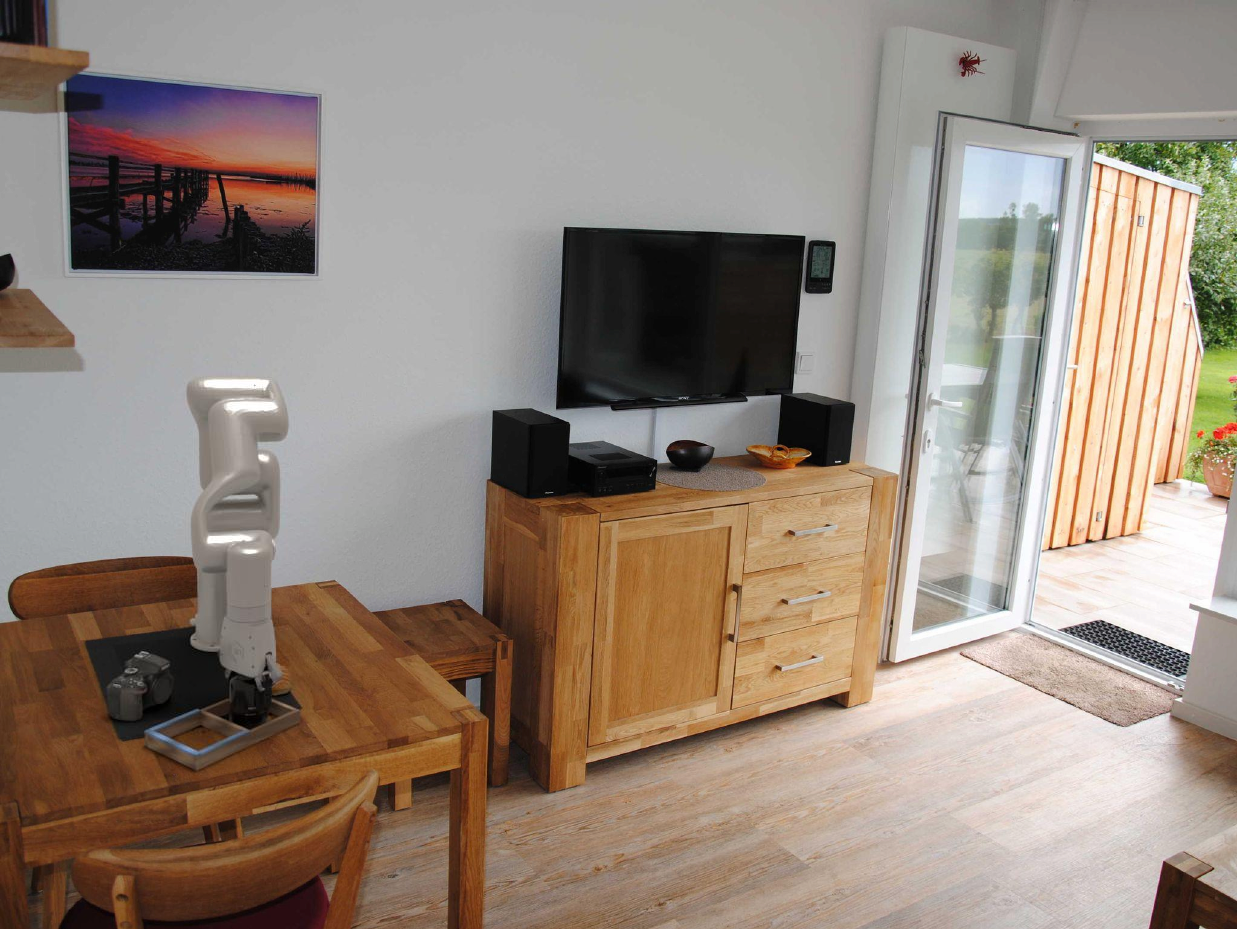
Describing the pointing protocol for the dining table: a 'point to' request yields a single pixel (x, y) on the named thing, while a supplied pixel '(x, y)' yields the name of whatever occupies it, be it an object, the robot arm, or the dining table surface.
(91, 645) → the dining table surface
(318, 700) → the dining table surface
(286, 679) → the pastry
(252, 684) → the supplement bottle
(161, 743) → the caddy
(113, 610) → the dining table surface
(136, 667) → the camera
